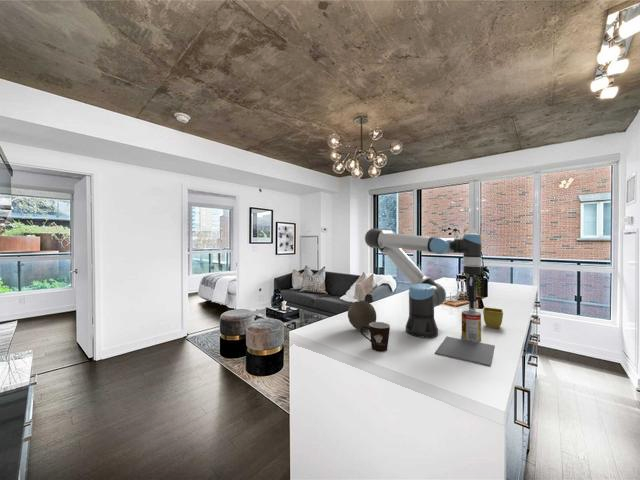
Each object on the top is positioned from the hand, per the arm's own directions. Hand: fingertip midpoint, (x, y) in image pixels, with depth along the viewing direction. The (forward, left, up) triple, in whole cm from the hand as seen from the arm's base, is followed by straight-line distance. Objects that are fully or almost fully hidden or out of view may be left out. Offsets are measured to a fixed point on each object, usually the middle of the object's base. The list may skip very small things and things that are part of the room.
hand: (472, 314), depth 131 cm
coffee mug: (-31, -42, -10) cm, 53 cm away
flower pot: (+7, +21, -10) cm, 24 cm away
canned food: (0, -5, -10) cm, 11 cm away
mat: (0, -22, -10) cm, 25 cm away
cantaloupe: (-46, -26, -10) cm, 54 cm away
